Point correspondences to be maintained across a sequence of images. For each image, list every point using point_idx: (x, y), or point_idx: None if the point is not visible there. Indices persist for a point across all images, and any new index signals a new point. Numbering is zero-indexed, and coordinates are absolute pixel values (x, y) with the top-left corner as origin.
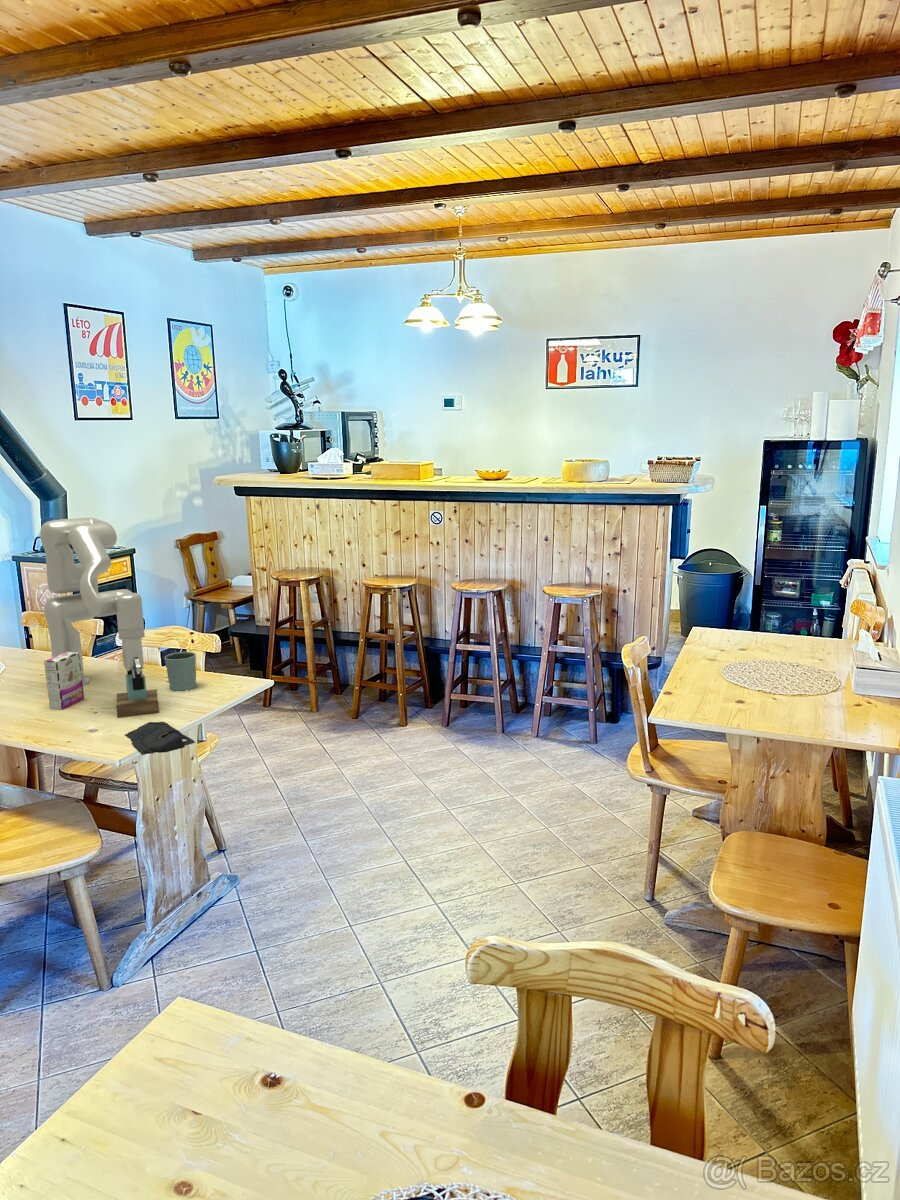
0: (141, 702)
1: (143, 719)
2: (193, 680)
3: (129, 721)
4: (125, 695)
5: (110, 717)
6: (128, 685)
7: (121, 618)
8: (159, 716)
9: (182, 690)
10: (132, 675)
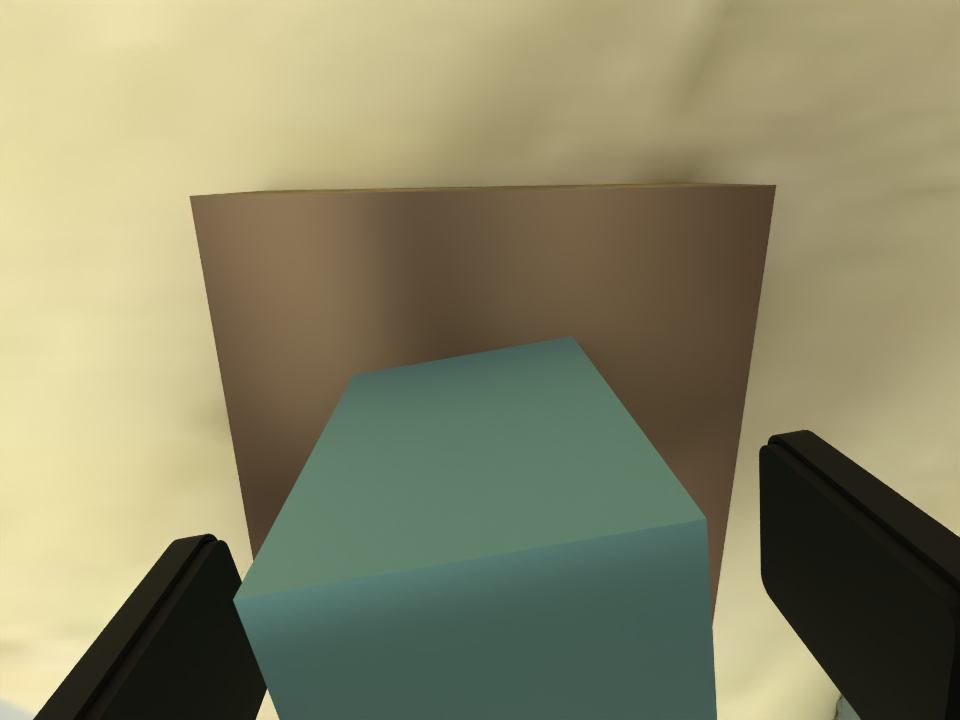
0: (246, 505)
1: (196, 436)
2: None
3: (162, 314)
4: (623, 309)
5: (351, 109)
6: (309, 488)
7: None
8: (250, 557)
9: (848, 717)
10: (581, 677)
